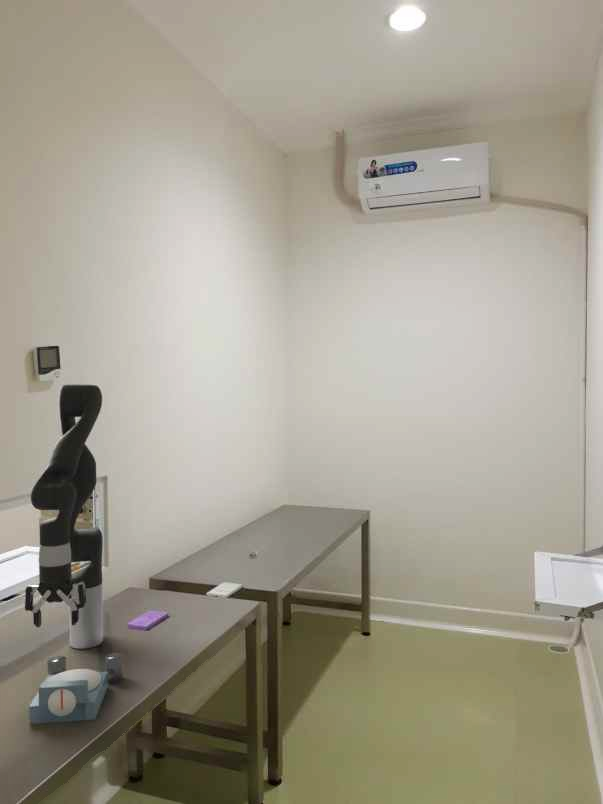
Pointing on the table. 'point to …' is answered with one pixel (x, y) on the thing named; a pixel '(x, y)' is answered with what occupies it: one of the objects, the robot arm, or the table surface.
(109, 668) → the cylinder
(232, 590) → the external hard drive
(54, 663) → the cylinder
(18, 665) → the table surface
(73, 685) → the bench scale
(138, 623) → the sponges
